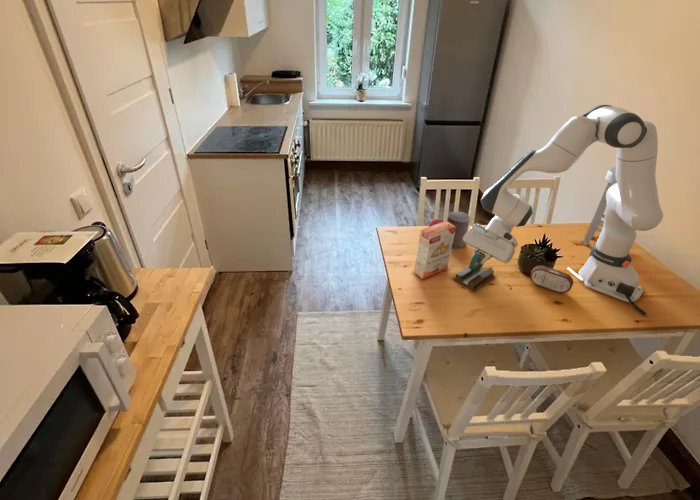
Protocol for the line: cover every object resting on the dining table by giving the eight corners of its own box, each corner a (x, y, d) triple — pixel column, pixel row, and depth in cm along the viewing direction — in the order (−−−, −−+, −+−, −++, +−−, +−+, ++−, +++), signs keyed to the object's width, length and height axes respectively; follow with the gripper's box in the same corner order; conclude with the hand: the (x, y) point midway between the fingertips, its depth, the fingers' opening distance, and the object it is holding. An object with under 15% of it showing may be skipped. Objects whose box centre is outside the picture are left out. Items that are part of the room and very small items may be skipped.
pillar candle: (442, 245, 175) (447, 217, 167) (444, 235, 183) (449, 207, 175) (464, 249, 173) (470, 220, 165) (465, 238, 181) (471, 210, 173)
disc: (483, 267, 155) (487, 250, 150) (471, 274, 150) (475, 258, 146) (479, 265, 156) (483, 248, 152) (467, 272, 152) (471, 255, 147)
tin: (569, 292, 149) (576, 275, 144) (567, 297, 147) (575, 279, 142) (528, 278, 156) (534, 261, 151) (527, 282, 154) (533, 265, 149)
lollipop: (441, 245, 176) (446, 216, 167) (443, 254, 169) (448, 225, 161) (424, 244, 176) (429, 215, 168) (425, 253, 170) (430, 223, 162)
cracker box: (423, 280, 153) (430, 236, 142) (413, 272, 158) (419, 228, 146) (448, 269, 160) (457, 226, 148) (438, 262, 164) (445, 219, 153)
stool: (584, 231, 189) (613, 163, 170) (620, 243, 181) (654, 173, 161) (576, 244, 179) (605, 173, 160) (613, 256, 171) (648, 184, 151)
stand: (494, 277, 156) (496, 271, 154) (474, 291, 148) (475, 285, 147) (473, 266, 162) (474, 260, 161) (453, 278, 155) (454, 273, 153)
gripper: (472, 218, 154) (452, 247, 155) (518, 240, 142) (497, 271, 142) (476, 225, 159) (457, 252, 159) (521, 246, 146) (501, 276, 147)
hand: (476, 261), depth 150 cm, fingers closed on disc, 2 cm apart
